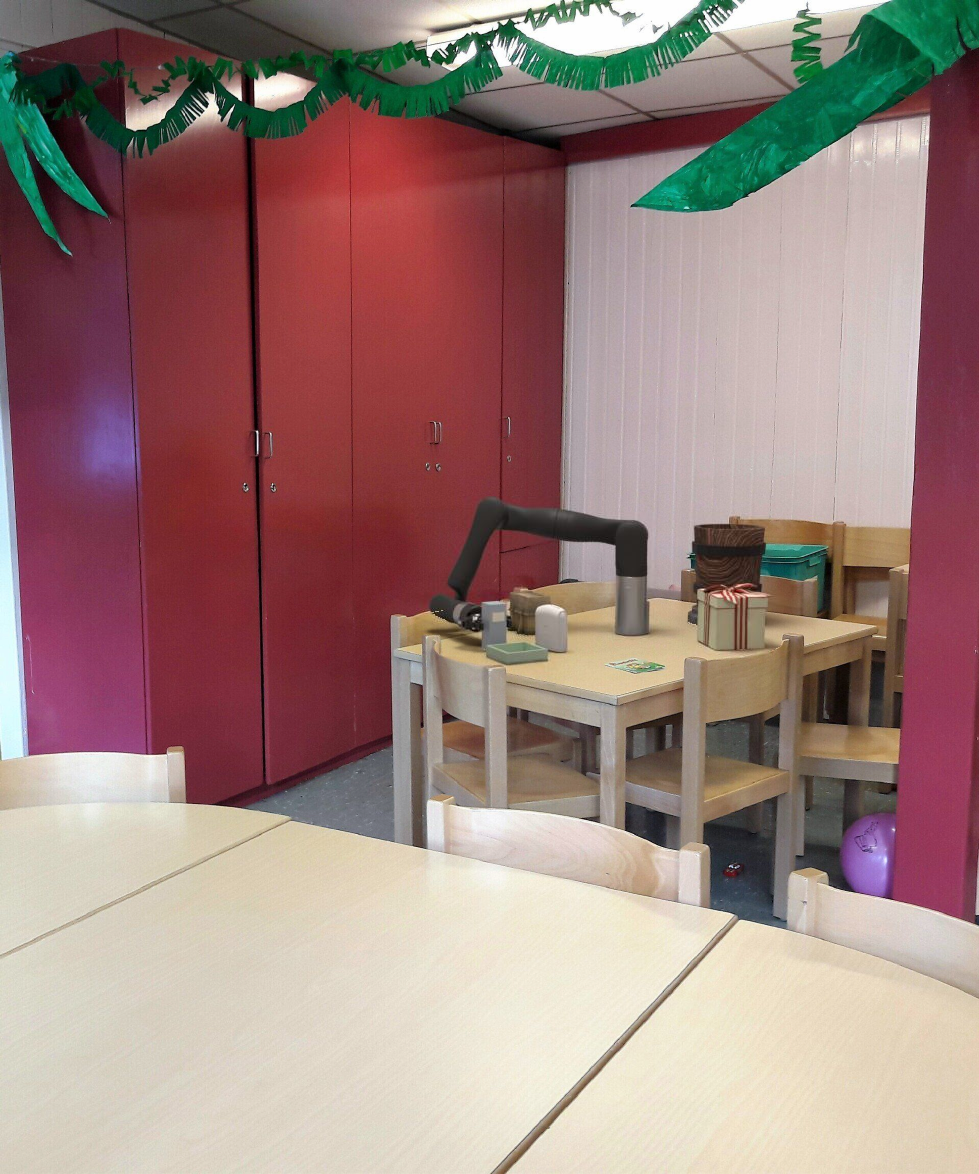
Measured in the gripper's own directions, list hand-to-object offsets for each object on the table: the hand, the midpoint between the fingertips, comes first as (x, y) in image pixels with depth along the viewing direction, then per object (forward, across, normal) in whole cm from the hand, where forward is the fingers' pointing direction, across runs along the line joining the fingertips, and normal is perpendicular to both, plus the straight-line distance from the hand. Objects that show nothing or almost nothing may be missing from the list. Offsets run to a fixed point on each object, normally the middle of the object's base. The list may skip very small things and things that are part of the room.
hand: (496, 625), depth 293 cm
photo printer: (+5, +14, +7) cm, 17 cm away
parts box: (-2, 0, +7) cm, 7 cm away
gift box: (+24, +62, +7) cm, 67 cm away
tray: (+11, 0, +7) cm, 13 cm away
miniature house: (-20, +24, +7) cm, 32 cm away
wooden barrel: (-7, +86, +7) cm, 87 cm away
